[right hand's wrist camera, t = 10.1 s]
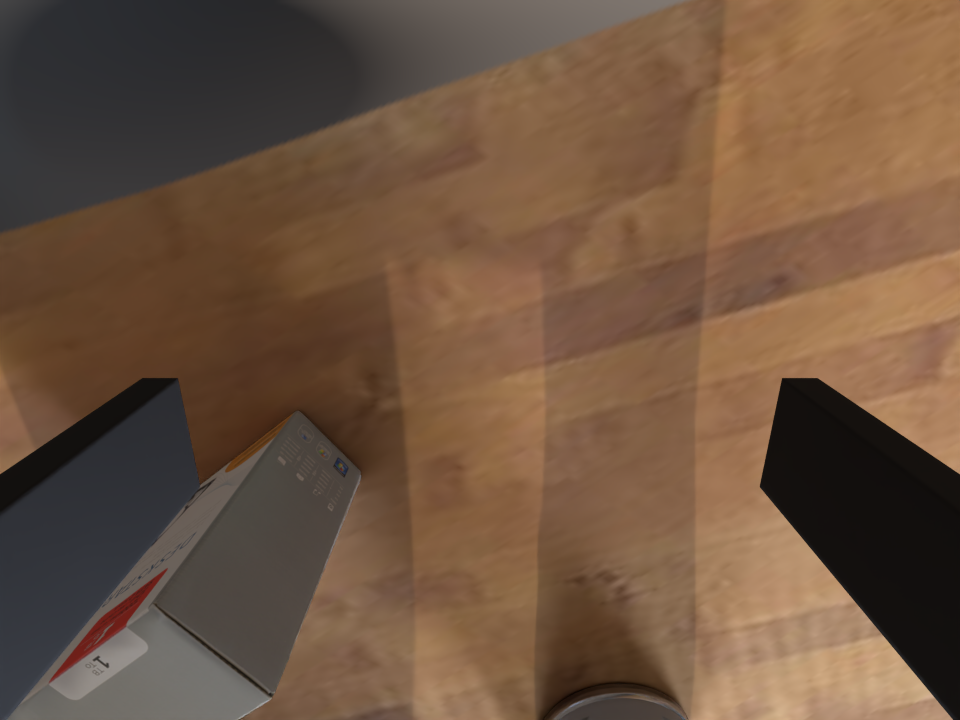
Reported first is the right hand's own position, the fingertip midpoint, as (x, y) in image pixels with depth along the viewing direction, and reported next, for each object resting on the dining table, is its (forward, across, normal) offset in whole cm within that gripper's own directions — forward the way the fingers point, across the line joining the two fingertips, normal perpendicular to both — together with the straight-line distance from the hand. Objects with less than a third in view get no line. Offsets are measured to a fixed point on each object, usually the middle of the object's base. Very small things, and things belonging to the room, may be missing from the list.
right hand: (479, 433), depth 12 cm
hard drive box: (+28, +18, +20) cm, 39 cm away
